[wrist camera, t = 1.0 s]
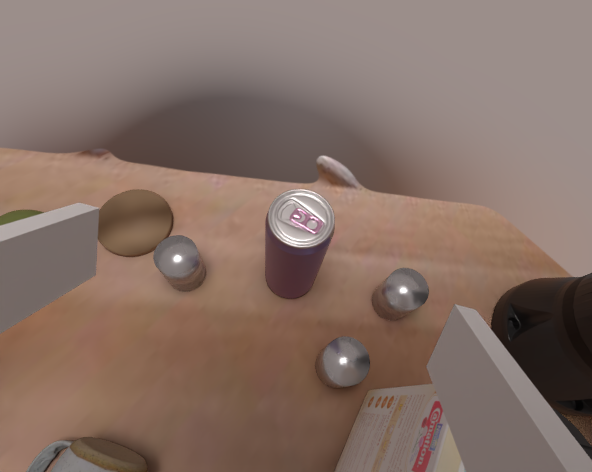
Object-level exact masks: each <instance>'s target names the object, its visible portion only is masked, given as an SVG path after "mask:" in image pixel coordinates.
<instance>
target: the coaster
mask: <svg viewBox="0 0 592 472" xmlns="http://www.w3.org/2000/svg"><path fill="white" fill-rule="evenodd" d="M172 226H173V215H172V212H171V209H170V207H169V205H168V204H167V202H166V201H165V200H164V199H163V198H162V197H161V196H160V195H158V194H156V193H154V192H151V191H148V190H130V191H126V192H122V193H120V194H118V195H116V196H114V197H112V198H111V199H110V200H108V201H107V202H106V203H105V204H104V205H103V206H102V208H101V209H100V211H99V223H98V240H99V241H100V243H101V244H102V245H103V246H104V247H105V248H106V249H108V250H109V251H110V252H112V253H114V254H117V255H120V256H125V257H135V256H141V255H144V254H147V253H149V252H151V251H153V250H155V249H156V247H157V246H158V244H159V243H160V242H161V241H163V240H164V239H166V238H168V236H169V234H170V232H171V230H172Z"/></svg>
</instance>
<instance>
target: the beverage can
mask: <svg viewBox="0 0 592 472" xmlns="http://www.w3.org/2000/svg"><path fill="white" fill-rule="evenodd" d="M334 229H335V217H334V212H333V209H332V207H331V206H330V204H329V203H328V201H327V200H326V199H325V198H323V197H322V196H321V195H319V194H318V193H316V192H313V191H310V190H306V189H294V190H289V191H286V192H284V193H282V194H281V195H279V196H278V197H277V198H276V199H275V200H274V201H273V202H272V204H271V206H270V208H269V211H268V213H267V216H266V234H265V276H266V281H267V284H268V286H269V287H270V289H271V290H272V291H273V292H274V293H276V294H277V295H279V296H281V297H284V298H297V297H300V296H302V295H304V294H305V293H307V292H308V291H309V290H310V288H311V287H312V285H313V283H314V280H315V278H316V275H317V273H318V271H319V268H320V266H321V263H322V261H323V258H324V256H325V254H326V251H327V249H328V246H329V244H330V242H331V239H332V237H333V234H334Z"/></svg>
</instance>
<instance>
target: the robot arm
mask: <svg viewBox="0 0 592 472" xmlns="http://www.w3.org/2000/svg"><path fill="white" fill-rule="evenodd" d="M98 223H99V208H97V207H94V206H90V205H86V204H83V203H76V204H73V205H69V206H66V207H63V208H59V209H56V210H52V211H49V212H45V213H42V214H39V215H35V216H32V217H28V218H25V219H21V220H18V221H15V222H11V223H8V224H4V225H1V226H0V334H1V333H2V332H4V331H5V330H7V329H9V328H10V327H12V326H14V325H15V324H17V323H18V322H20V321H22V320H23V319H25V318H27V317H28V316H30V315H32V314H33V313H35V312H36V311H38V310H40V309H41V308H43V307H45V306H46V305H48V304H49V303H51V302H53V301H54V300H56V299H58V298H59V297H61V296H62V295H64V294H66V293H67V292H69V291H71V290H72V289H74V288H76V287H77V286H79V285H80V284H82V283H84V282H85V281H87V280H89V279H90V278H92V277H93V276H95V275H96V261H97V242H98ZM426 367H427V370H428V372H429V375H430V378H431V380H432V383H433V386H434V388H435V391H436V393H437V396H438V399H439V401H440V404H441V407H442V409H443V412H444V415H445V417H446V420H447V423H448V425H449V428H450V431H451V433H452V436H453V438H454V441H455V444H456V446H457V449H458V452H459V454H460V457H461V460H462V462H463V465H464V468H465V470H466V472H592V446H591V445H590V444H589V443H588V441H587V440H586V439H585V438H584V436H583V435H582V434H581V433H580V431H579V430H578V429H577V428H576V427H575V426H574V425H573V424H572V423H571V422H570V421H568V420H567V419H566V418H565V417H564V416H563V415H562V414H566V415H574V416H592V273H591V274H588V275H585V276H583V277H569V278H540V279H534V280H530V281H527V282H525V283H523V284H520V285H518V286H516V287H514V288H512V289H510V290H509V291H507V292H506V293H505V294H504V295H503V296H502V297H501V299H500V300H499V302H498V303H497V305H496V308H495V310H494V314H493V319H492V330H491V329H490V327H489V326H488V325H487V323H486V322H485V321H484V320H483V318H482V317H481V316H480V314H479V313H478V312H477V310H475V309H471V308H467V307H464V306H460V305H456V304H454V307H453V309H452V311H451V313H450V315H449V318H448V320H447V322H446V324H445V326H444V329H443V331H442V333H441V335H440V338H439V340H438V342H437V344H436V346H435V349H434V351H433V353H432V355H431V357H430V360H429V362H428V364H427V366H426ZM560 413H562V414H560Z"/></svg>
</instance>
